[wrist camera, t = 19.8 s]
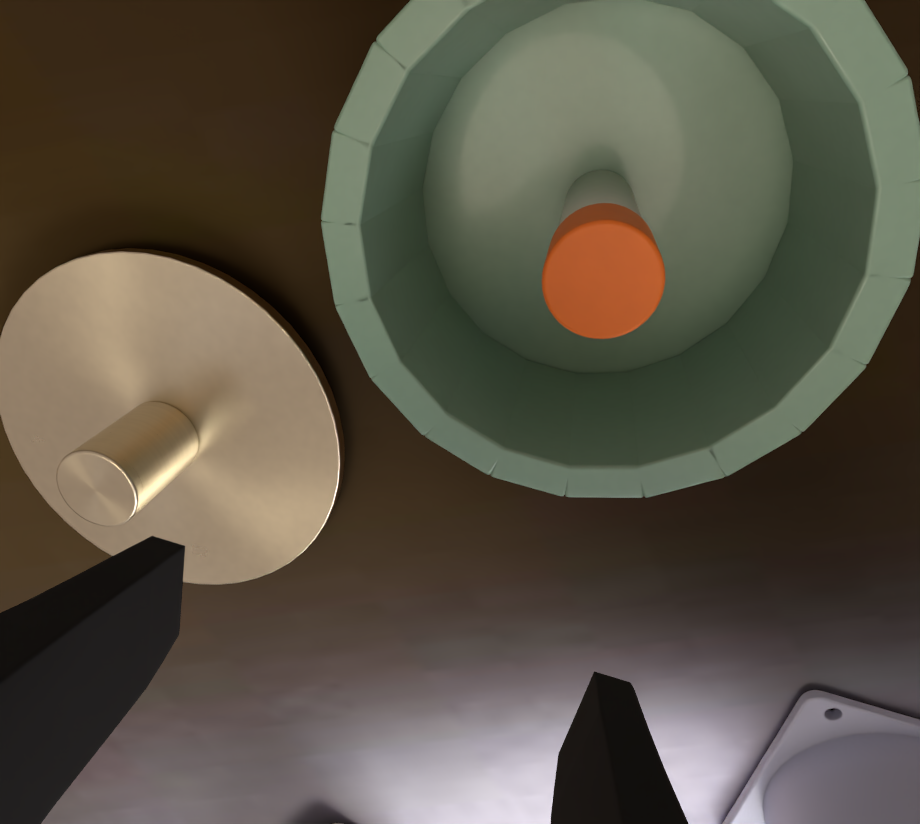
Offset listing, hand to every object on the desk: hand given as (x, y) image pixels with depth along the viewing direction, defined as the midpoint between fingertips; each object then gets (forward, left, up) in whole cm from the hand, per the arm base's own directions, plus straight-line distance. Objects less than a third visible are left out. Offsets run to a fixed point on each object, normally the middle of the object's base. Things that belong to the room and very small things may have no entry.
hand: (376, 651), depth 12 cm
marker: (-2, -7, -10) cm, 12 cm away
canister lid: (+9, +3, -10) cm, 14 cm away
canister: (-2, -7, -10) cm, 12 cm away
